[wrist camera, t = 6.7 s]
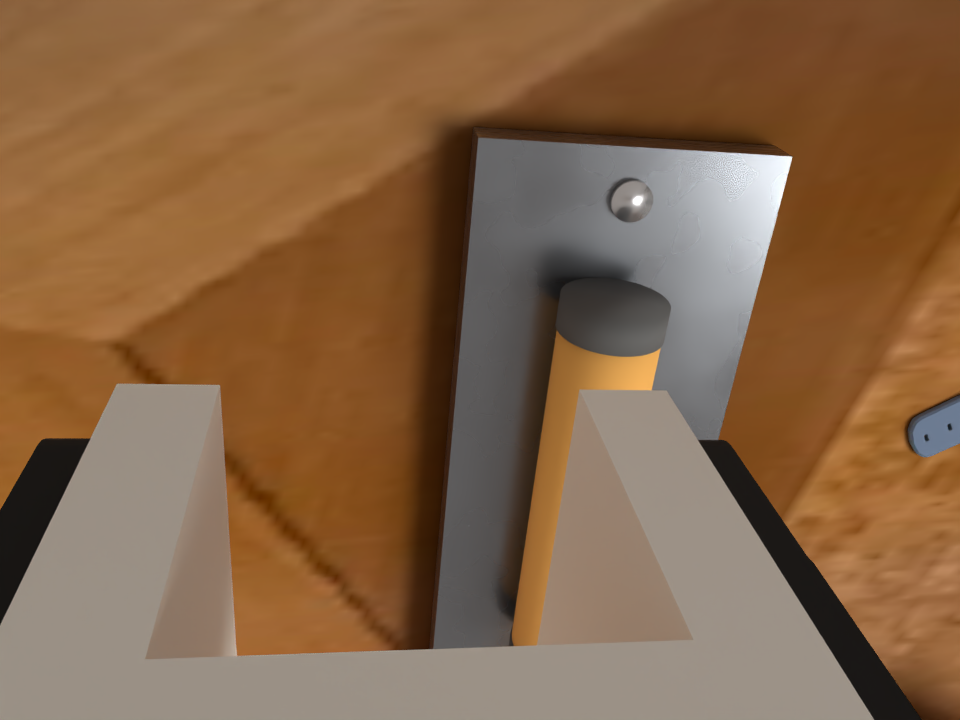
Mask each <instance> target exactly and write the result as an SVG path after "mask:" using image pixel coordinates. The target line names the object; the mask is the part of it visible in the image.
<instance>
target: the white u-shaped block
mask: <svg viewBox="0 0 960 720" xmlns="http://www.w3.org/2000/svg"><path fill="white" fill-rule="evenodd" d="M0 720H874V719H873V717H872V716H871V714H870V712H869V711H868V709H867V708H866V706H865V704H864V703H863V701H862V700H861V698H860V697H859V695H858V693H857V692H856V690H855V689H854V687H853V685H852V684H851V682H850V681H849V679H848V678H847V676H846V674H845V673H844V671H843V670H842V668H841V666H840V665H839V663H838V662H837V660H836V659H835V657H834V655H833V654H832V652H831V651H830V649H829V647H828V646H827V644H826V643H825V641H824V639H823V638H822V636H821V635H820V633H819V632H818V630H817V628H816V627H815V625H814V624H813V622H812V620H811V619H810V617H809V616H808V614H807V613H806V611H805V609H804V608H803V606H802V605H801V603H800V601H799V600H798V598H797V597H796V595H795V593H794V592H793V590H792V589H791V587H790V586H789V584H788V582H787V581H786V579H785V578H784V576H783V574H782V573H781V571H780V570H779V568H778V567H777V565H776V563H775V562H774V560H773V559H772V557H771V555H770V554H769V552H768V551H767V549H766V547H765V546H764V544H763V543H762V541H761V540H760V538H759V536H758V535H757V533H756V532H755V530H754V528H753V527H752V525H751V524H750V522H749V521H748V519H747V517H746V516H745V514H744V513H743V511H742V509H741V508H740V506H739V505H738V503H737V501H736V500H735V498H734V497H733V495H732V494H731V492H730V490H729V489H728V487H727V486H726V484H725V482H724V481H723V479H722V478H721V476H720V475H719V473H718V471H717V470H716V468H715V467H714V465H713V463H712V462H711V460H710V459H709V457H708V456H707V454H706V452H705V451H704V449H703V448H702V446H701V444H700V443H699V441H698V440H697V438H696V436H695V435H694V433H693V432H692V430H691V429H690V427H689V425H688V424H687V422H686V421H685V419H684V417H683V416H682V414H681V413H680V411H679V410H678V408H677V406H676V405H675V403H674V402H673V400H672V398H671V397H670V395H669V394H668V392H667V391H663V390H581V389H579V395H578V401H577V407H576V413H575V419H574V425H573V431H572V437H571V443H570V449H569V455H568V461H567V467H566V473H565V479H564V485H563V491H562V497H561V503H560V509H559V515H558V521H557V527H556V533H555V539H554V545H553V551H552V558H551V564H550V570H549V576H548V582H547V588H546V594H545V600H544V606H543V612H542V618H541V624H540V630H539V636H538V642H537V645H535V646H507V647H479V648H451V649H423V650H395V651H366V652H338V653H310V654H282V655H254V656H237V652H236V636H235V620H234V604H233V588H232V572H231V556H230V540H229V523H228V507H227V491H226V475H225V459H224V443H223V427H222V410H221V394H220V385H171V384H117V385H116V387H115V389H114V391H113V393H112V395H111V397H110V400H109V402H108V404H107V406H106V408H105V410H104V412H103V414H102V416H101V418H100V420H99V422H98V424H97V426H96V428H95V431H94V433H93V435H92V437H91V439H90V441H89V443H88V445H87V447H86V449H85V451H84V453H83V455H82V457H81V459H80V461H79V464H78V466H77V468H76V470H75V472H74V474H73V476H72V478H71V480H70V482H69V484H68V486H67V488H66V490H65V492H64V495H63V497H62V499H61V501H60V503H59V505H58V507H57V509H56V511H55V513H54V515H53V517H52V519H51V521H50V523H49V525H48V528H47V530H46V532H45V534H44V536H43V538H42V540H41V542H40V544H39V546H38V548H37V550H36V552H35V554H34V556H33V559H32V561H31V563H30V565H29V567H28V569H27V571H26V573H25V575H24V577H23V579H22V581H21V583H20V585H19V587H18V590H17V592H16V594H15V596H14V598H13V600H12V602H11V604H10V606H9V608H8V610H7V612H6V614H5V616H4V618H3V620H2V623H1V625H0Z"/></svg>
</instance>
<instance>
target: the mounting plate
mask: <svg viewBox="0 0 960 720" xmlns="http://www.w3.org/2000/svg"><path fill="white" fill-rule="evenodd" d="M791 160H792V156H791V155H789V154H787V153H786V152H784V151H783V150H781V149H779V148H778V147H776V146H772V145H756V144H740V143H723V142H707V141H691V140H675V139H659V138H643V137H627V136H611V135H595V134H579V133H562V132H546V131H530V130H514V129H498V128H482V127H473V136H472V148H471V159H470V171H469V183H468V195H467V206H466V218H465V230H464V242H463V254H462V265H461V277H460V289H459V301H458V312H457V324H456V336H455V348H454V360H453V371H452V383H451V395H450V407H449V419H448V430H447V442H446V454H445V466H444V477H443V489H442V501H441V513H440V525H439V536H438V548H437V560H436V572H435V583H434V595H433V607H432V619H431V631H430V642H429V649H451V648H479V647H507V646H509V639H510V632H511V629H512V626H513V622H514V615H515V608H516V601H517V595H518V588H519V581H520V574H521V568H522V561H523V554H524V547H525V541H526V534H527V527H528V520H529V514H530V507H531V500H532V493H533V487H534V480H535V473H536V466H537V460H538V453H539V446H540V439H541V433H542V426H543V419H544V412H545V405H546V399H547V392H548V385H549V378H550V372H551V365H552V358H553V351H554V345H555V338H556V331H557V329H556V319H557V312H558V305H559V298H560V292H561V289H562V287H563V286H564V285H565V284H567V283H569V282H571V281H574V280H578V279H583V278H595V277H599V278H613V279H620V280H625V281H630V282H634V283H637V284H640V285H643V286H646V287H648V288H651V289H653V290H655V291H656V292H658V293H660V294H661V295H663V296H664V297H665V298H666V299H667V300H668V301H669V303H670V305H671V312H670V316H669V321H668V326H667V330H666V335H665V340H664V343H663V346H662V347H661V349H660V353H659V358H658V363H657V367H656V372H655V377H654V381H653V386H652V390H663V391H667V392H668V394H669V395H670V397H671V398H672V400H673V402H674V403H675V405H676V406H677V408H678V410H679V411H680V413H681V414H682V416H683V417H684V419H685V421H686V422H687V424H688V425H689V427H690V429H691V430H692V432H693V433H694V435H695V436H696V438H697V440H718V438H719V434H720V430H721V426H722V422H723V419H724V415H725V411H726V407H727V403H728V400H729V396H730V392H731V388H732V384H733V381H734V377H735V373H736V369H737V365H738V362H739V358H740V354H741V350H742V346H743V343H744V339H745V335H746V331H747V327H748V324H749V320H750V316H751V312H752V309H753V305H754V301H755V297H756V293H757V290H758V286H759V282H760V278H761V274H762V271H763V267H764V263H765V259H766V255H767V252H768V248H769V244H770V240H771V236H772V233H773V229H774V225H775V221H776V217H777V214H778V210H779V206H780V202H781V198H782V195H783V191H784V187H785V183H786V179H787V176H788V172H789V168H790V164H791Z"/></svg>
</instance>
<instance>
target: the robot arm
mask: <svg viewBox="0 0 960 720" xmlns="http://www.w3.org/2000/svg"><path fill="white" fill-rule="evenodd" d="M89 441H90V439H43V440H41V442H40V443H39V444H38V445H37V447H36V449H35V451H34V452H33V454H32V456H31V458H30V459H29V461H28V463H27V465H26V466H25V468H24V470H23V471H22V473H21V475H20V477H19V478H18V480H17V482H16V484H15V485H14V487H13V489H12V491H11V492H10V494H9V496H8V498H7V499H6V501H5V503H4V505H3V506H2V508H1V510H0V625H1V623H2V620H3V618H4V616H5V614H6V612H7V610H8V608H9V606H10V604H11V602H12V600H13V598H14V596H15V594H16V592H17V590H18V587H19V585H20V583H21V581H22V579H23V577H24V575H25V573H26V571H27V569H28V567H29V565H30V563H31V561H32V559H33V556H34V554H35V552H36V550H37V548H38V546H39V544H40V542H41V540H42V538H43V536H44V534H45V532H46V530H47V528H48V525H49V523H50V521H51V519H52V517H53V515H54V513H55V511H56V509H57V507H58V505H59V503H60V501H61V499H62V497H63V495H64V492H65V490H66V488H67V486H68V484H69V482H70V480H71V478H72V476H73V474H74V472H75V470H76V468H77V466H78V464H79V461H80V459H81V457H82V455H83V453H84V451H85V449H86V447H87V445H88V443H89ZM698 441H699V443H700V444H701V446H702V448H703V449H704V451H705V452H706V454H707V456H708V457H709V459H710V460H711V462H712V463H713V465H714V467H715V468H716V470H717V471H718V473H719V475H720V476H721V478H722V479H723V481H724V482H725V484H726V486H727V487H728V489H729V490H730V492H731V494H732V495H733V497H734V498H735V500H736V501H737V503H738V505H739V506H740V508H741V509H742V511H743V513H744V514H745V516H746V517H747V519H748V521H749V522H750V524H751V525H752V527H753V528H754V530H755V532H756V533H757V535H758V536H759V538H760V540H761V541H762V543H763V544H764V546H765V547H766V549H767V551H768V552H769V554H770V555H771V557H772V559H773V560H774V562H775V563H776V565H777V567H778V568H779V570H780V571H781V573H782V574H783V576H784V578H785V579H786V581H787V582H788V584H789V586H790V587H791V589H792V590H793V592H794V593H795V595H796V597H797V598H798V600H799V601H800V603H801V605H802V606H803V608H804V609H805V611H806V613H807V614H808V616H809V617H810V619H811V620H812V622H813V624H814V625H815V627H816V628H817V630H818V632H819V633H820V635H821V636H822V638H823V639H824V641H825V643H826V644H827V646H828V647H829V649H830V651H831V652H832V654H833V655H834V657H835V659H836V660H837V662H838V663H839V665H840V666H841V668H842V670H843V671H844V673H845V674H846V676H847V678H848V679H849V681H850V682H851V684H852V685H853V687H854V689H855V690H856V692H857V693H858V695H859V697H860V698H861V700H862V701H863V703H864V704H865V706H866V708H867V709H868V711H869V712H870V714H871V716H872V717H873V719H874V720H922V719H921V718H920V717H919V715H918V714H917V712H916V711H915V709H914V708H913V706H912V705H911V704H910V702H909V701H908V699H907V698H906V696H905V695H904V693H903V692H902V690H901V689H900V688H899V686H898V685H897V683H896V682H895V680H894V679H893V677H892V676H891V675H890V673H889V672H888V670H887V669H886V667H885V666H884V664H883V663H882V661H881V660H880V659H879V657H878V656H877V654H876V653H875V651H874V650H873V648H872V647H871V646H870V644H869V643H868V641H867V640H866V638H865V637H864V635H863V634H862V632H861V631H860V630H859V628H858V627H857V625H856V624H855V622H854V621H853V619H852V618H851V617H850V615H849V614H848V612H847V611H846V609H845V608H844V606H843V605H842V603H841V602H840V601H839V599H838V598H837V596H836V595H835V593H834V592H833V590H832V589H831V588H830V586H829V585H828V583H827V582H826V580H825V579H824V577H823V576H822V574H821V573H820V572H819V570H818V569H817V567H816V566H815V564H814V563H813V562H812V561H811V560H810V559H809V558H808V557H807V555H806V554H805V553H804V551H803V550H802V548H801V547H800V545H799V544H798V542H797V541H796V539H795V538H794V537H793V535H792V534H791V532H790V531H789V529H788V528H787V526H786V525H785V523H784V522H783V520H782V519H781V518H780V516H779V515H778V513H777V512H776V510H775V509H774V507H773V506H772V504H771V503H770V502H769V500H768V499H767V497H766V496H765V494H764V493H763V491H762V490H761V488H760V487H759V486H758V484H757V483H756V481H755V480H754V478H753V477H752V475H751V474H750V472H749V471H748V470H747V468H746V467H745V465H744V464H743V462H742V461H741V459H740V458H739V456H738V455H737V453H736V452H735V451H734V449H733V448H732V446H731V445H730V444H729V443H728V442H727V441H724V440H698Z"/></svg>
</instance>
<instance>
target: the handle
mask: <svg viewBox="0 0 960 720" xmlns="http://www.w3.org/2000/svg"><path fill="white" fill-rule="evenodd" d="M670 312H671V305H670V303H669V301H668V300H667V299H666V298H665V297H664V296H663V295H661V294H660V293H658V292H656V291H655V290H653V289H651V288H648V287H646V286H643V285H640V284H637V283H634V282H630V281H625V280H620V279H613V278H599V277H595V278H583V279H578V280H574V281H571V282H569V283H567V284H565V285H564V286H563V287H562V289H561V292H560V298H559V305H558V312H557V319H556V329H557V331H556V338H555V345H554V351H553V358H552V365H551V372H550V378H549V385H548V392H547V399H546V405H545V412H544V419H543V426H542V433H541V439H540V446H539V453H538V460H537V466H536V473H535V480H534V487H533V493H532V500H531V507H530V514H529V520H528V527H527V534H526V541H525V547H524V554H523V561H522V568H521V574H520V581H519V588H518V595H517V601H516V608H515V615H514V622H513V626H512V629H511V632H510V639H509V646H535V645H537V642H538V636H539V630H540V624H541V618H542V612H543V606H544V600H545V594H546V588H547V582H548V576H549V570H550V564H551V558H552V551H553V545H554V539H555V533H556V527H557V521H558V515H559V509H560V503H561V497H562V491H563V485H564V479H565V473H566V467H567V461H568V455H569V449H570V443H571V437H572V431H573V425H574V419H575V413H576V407H577V401H578V395H579V389H581V390H652V386H653V381H654V377H655V372H656V367H657V363H658V358H659V353H660V349H661V347H662V346H663V343H664V340H665V335H666V330H667V326H668V321H669V316H670Z"/></svg>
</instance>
